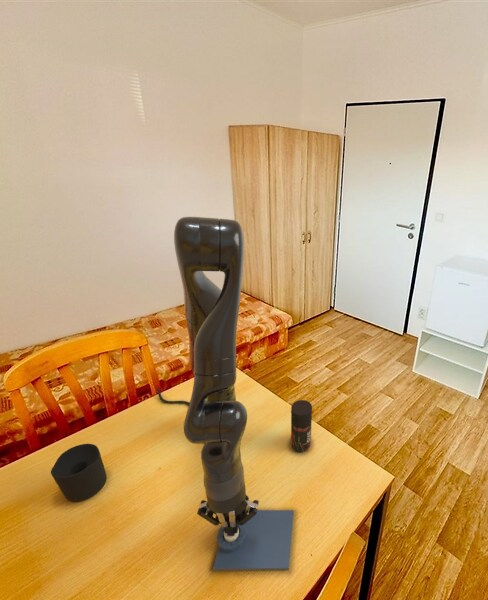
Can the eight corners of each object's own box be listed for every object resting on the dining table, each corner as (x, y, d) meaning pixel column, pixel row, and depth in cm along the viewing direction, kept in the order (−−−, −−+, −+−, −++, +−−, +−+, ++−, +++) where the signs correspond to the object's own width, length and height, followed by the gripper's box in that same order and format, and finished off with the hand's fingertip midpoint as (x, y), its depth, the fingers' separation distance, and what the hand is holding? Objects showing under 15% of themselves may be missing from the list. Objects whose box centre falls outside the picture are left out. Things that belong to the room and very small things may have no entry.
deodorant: (307, 454, 94) (308, 417, 87) (288, 450, 95) (288, 412, 88) (312, 438, 99) (314, 402, 93) (294, 434, 100) (295, 398, 94)
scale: (210, 571, 67) (209, 564, 66) (226, 512, 78) (225, 506, 77) (288, 570, 68) (288, 564, 67) (293, 512, 79) (293, 506, 78)
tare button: (222, 543, 70) (222, 539, 70) (226, 527, 73) (226, 523, 73) (237, 543, 71) (236, 538, 70) (240, 527, 74) (240, 523, 73)
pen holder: (117, 478, 84) (107, 453, 79) (77, 511, 76) (65, 484, 72) (94, 463, 87) (84, 438, 83) (55, 493, 79) (41, 467, 75)
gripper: (261, 464, 67) (264, 514, 75) (197, 464, 67) (207, 514, 74) (254, 500, 61) (258, 550, 68) (184, 500, 60) (195, 550, 67)
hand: (231, 531), depth 71 cm, fingers closed
